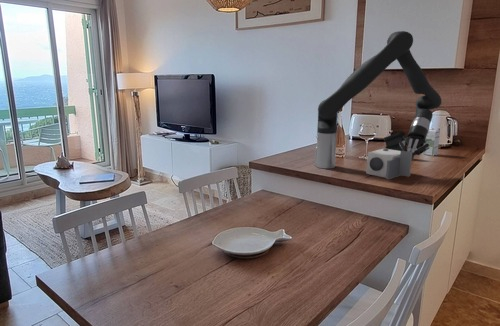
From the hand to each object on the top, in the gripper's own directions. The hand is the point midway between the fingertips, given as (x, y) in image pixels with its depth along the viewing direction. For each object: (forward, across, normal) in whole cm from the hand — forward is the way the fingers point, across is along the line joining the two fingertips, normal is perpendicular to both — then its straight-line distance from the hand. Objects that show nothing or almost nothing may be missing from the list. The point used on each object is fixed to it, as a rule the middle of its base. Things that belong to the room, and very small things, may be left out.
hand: (408, 161), depth 149 cm
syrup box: (-37, -5, +49) cm, 62 cm away
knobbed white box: (+3, -10, +8) cm, 13 cm away
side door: (+9, -2, +1) cm, 9 cm away
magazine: (-23, -18, +35) cm, 46 cm away
